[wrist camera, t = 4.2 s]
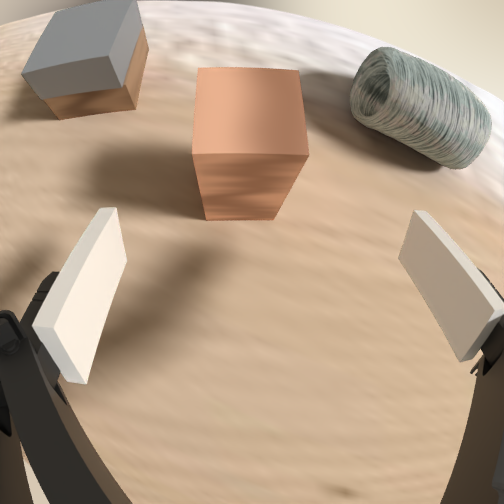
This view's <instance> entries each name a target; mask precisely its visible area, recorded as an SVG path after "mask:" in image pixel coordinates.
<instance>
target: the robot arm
mask: <svg viewBox="0 0 504 504" xmlns="http://www.w3.org/2000/svg"><path fill="white" fill-rule="evenodd" d="M398 259H399V260H400V262H401V263H402V265H403V266H404V268H405V269H406V271H407V273H408V274H409V276H410V277H411V279H412V280H413V282H414V284H415V285H416V287H417V288H418V290H419V292H420V293H421V295H422V297H423V298H424V300H425V302H426V303H427V305H428V307H429V308H430V310H431V312H432V313H433V315H434V317H435V319H436V320H437V322H438V324H439V326H440V327H441V329H442V331H443V333H444V335H445V336H446V338H447V340H448V342H449V344H450V346H451V347H452V349H453V351H454V353H455V355H456V357H457V359H458V361H459V362H463V361H467V360H470V359H473V358H474V356H475V355H476V354H477V352H478V351H479V350H480V348H481V350H482V352H483V355H482V357H481V358H480V359H479V361H478V362H477V363H476V364H475V366H474V367H473V368H472V370H471V372H470V373H471V374H472V373H473V372H474V371H475V370H476V369H478V372H477V373H476V374H475V376H477V378H476V384H475V389H474V394H473V399H472V404H471V408H470V413H469V417H468V421H467V425H466V429H465V433H464V436H463V440H462V443H461V447H460V450H459V453H458V456H457V460H456V463H455V466H454V469H453V472H452V474H451V477H450V480H449V483H448V485H447V488H446V490H445V493H444V496H443V498H442V500H441V503H440V504H504V299H503V297H502V296H501V295H500V293H499V292H498V291H497V289H495V287H494V286H493V284H492V283H490V280H489V279H488V278H487V277H486V275H485V274H484V273H483V272H482V271H481V270H479V269H478V268H477V267H476V266H475V265H474V264H473V263H472V261H471V260H470V259H469V258H468V257H467V255H466V254H465V253H464V252H463V251H462V250H461V248H460V247H459V246H458V245H457V244H456V243H455V242H454V240H453V239H452V238H451V237H450V236H449V235H448V234H447V233H446V232H445V230H444V229H443V228H442V227H441V226H440V225H439V224H438V223H437V222H436V221H435V220H434V219H433V218H432V217H431V215H430V214H429V213H428V212H427V211H419V210H413V214H412V217H411V220H410V224H409V227H408V230H407V233H406V236H405V239H404V242H403V245H402V248H401V251H400V254H399V257H398ZM126 262H127V258H126V253H125V249H124V244H123V239H122V234H121V229H120V224H119V219H118V213H117V208H116V207H109V208H100V209H99V210H98V212H97V213H96V215H95V216H94V218H93V219H92V221H91V222H90V224H89V225H88V227H87V228H86V230H85V231H84V233H83V235H82V236H81V238H80V239H79V241H78V243H77V244H76V246H75V247H74V249H73V251H72V252H71V254H70V256H69V257H68V259H67V261H66V262H65V264H64V266H63V268H62V269H61V271H60V272H52V273H50V274H49V275H48V276H47V277H46V278H45V279H44V280H43V281H42V283H41V285H40V286H39V288H38V290H37V293H35V295H34V297H33V299H32V301H31V302H30V304H29V306H28V308H27V310H26V312H25V313H24V315H23V317H22V319H21V321H20V323H19V321H18V320H17V318H16V316H15V314H14V313H13V312H11V311H9V310H2V311H0V504H34V503H33V500H32V496H31V492H30V488H29V484H28V481H27V476H26V472H25V467H24V462H23V456H22V451H21V445H20V441H21V444H22V446H23V449H24V451H25V453H26V456H27V458H28V460H29V463H30V465H31V467H32V469H33V471H34V474H35V476H36V478H37V480H38V482H39V484H40V486H41V488H42V490H43V492H44V494H45V495H46V497H47V499H48V501H49V503H50V504H132V502H131V501H130V500H129V498H128V497H127V496H126V494H125V493H124V492H123V490H122V489H121V488H120V486H119V485H118V483H117V482H116V481H115V479H114V478H113V476H112V475H111V473H110V472H109V470H108V469H107V467H106V466H105V464H104V463H103V461H102V460H101V458H100V457H99V455H98V454H97V452H96V450H95V449H94V447H93V445H92V444H91V442H90V440H89V439H88V437H87V435H86V434H85V432H84V430H83V428H82V427H81V425H80V423H79V421H78V419H77V417H76V416H75V414H74V412H73V410H72V408H71V406H70V404H69V402H68V400H67V398H66V396H65V394H64V392H63V390H62V388H61V386H60V385H59V383H58V382H57V380H58V377H59V374H60V372H61V374H62V375H63V377H64V378H65V379H66V381H67V382H73V383H80V384H87V381H88V377H89V373H90V370H91V366H92V363H93V359H94V356H95V353H96V349H97V346H98V343H99V339H100V336H101V333H102V330H103V327H104V324H105V321H106V318H107V315H108V312H109V309H110V306H111V303H112V300H113V297H114V294H115V292H116V289H117V286H118V283H119V281H120V278H121V275H122V273H123V270H124V267H125V265H126Z"/></svg>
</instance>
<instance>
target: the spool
mask: <svg viewBox="0 0 504 504" xmlns="http://www.w3.org/2000/svg"><path fill="white" fill-rule="evenodd" d="M350 106H351V112H352V114H353V116H354V118H355V119H356V120H357V121H359V122H360V123H361V124H363V125H364V126H366V127H368V128H370V129H375V130H377V131H379V132H381V133H383V134H384V135H387V136H389V137H392V138H393V139H395V140H397V141H399V142H401V143H403V144H405V145H407V146H409V147H411V148H413V149H414V150H416V151H417V152H419V153H421V154H423V155H425V156H427V157H429V158H430V159H432V160H434V161H436V162H437V163H439V164H441V165H443V166H445V167H448V168H450V169H463V168H466V167H467V166H468V165H470V164H471V163H472V162H473V161H474V160H475V159H476V158H477V157H478V156H479V154H480V153H481V151H482V150H483V148H484V147H485V145H486V143H487V142H488V140H489V137H490V134H491V125H492V122H491V116H490V114H489V112H488V110H487V108H486V107H485V105H484V104H483V102H482V101H481V100H480V99H479V98H478V97H477V96H476V95H475V94H474V93H473V92H472V91H471V90H470V89H469V88H468V87H466V86H465V85H463V84H462V83H461V82H459V81H458V80H456V79H455V78H454V77H452V76H451V75H450V74H448V73H447V72H445V71H443V70H441V69H439V68H437V67H436V66H434V65H432V64H429V63H427V62H425V61H424V60H421V59H419V58H416V57H413V56H411V55H409V54H407V53H404V52H401V51H399V50H397V49H395V48H391V47H380V48H378V49H376V50H374V51H372V52H371V53H370V54H369V55H368V56H367V58H366V59H365V60H364V62H363V63H362V64H361V66H360V68H359V70H358V72H357V74H356V76H355V78H354V82H353V85H352V88H351V93H350Z"/></svg>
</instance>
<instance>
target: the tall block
mask: <svg viewBox="0 0 504 504" xmlns="http://www.w3.org/2000/svg"><path fill="white" fill-rule="evenodd" d="M308 156H309V149H308V140H307V131H306V123H305V114H304V106H303V99H302V91H301V84H300V77H299V71H298V70H286V69H270V68H242V67H212V68H198V74H197V86H196V98H195V111H194V126H193V142H192V157H193V162H194V166H195V171H196V176H197V180H198V185H199V189H200V194H201V198H202V203H203V207H204V212H205V216H206V221H218V220H274V218H275V216H276V215H277V213H278V211H279V209H280V207H281V206H282V204H283V202H284V200H285V198H286V196H287V195H288V193H289V191H290V189H291V187H292V186H293V184H294V182H295V180H296V178H297V176H298V175H299V173H300V171H301V169H302V167H303V166H304V164H305V162H306V160H307V158H308Z"/></svg>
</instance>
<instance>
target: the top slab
mask: <svg viewBox="0 0 504 504" xmlns="http://www.w3.org/2000/svg"><path fill="white" fill-rule="evenodd" d="M142 26H143V25H142V21H141V17H140V13H139V8H138V4H137V0H103V1H98V2H93V3H89V4H84V5H80V6H76V7H72V8H68V9H64V10H61V11H57V12H55V14H54V15H53V17H52V19H51V20H50V22H49V23H48V25H47V27H46V28H45V30H44V32H43V33H42V35H41V37H40V39H39V40H38V42H37V44H36V46H35V48H34V50H33V51H32V53H31V55H30V57H29V59H28V61H27V63H26V65H25V67H24V69H23V71H22V73H21V75H22V76H23V77H24V79H25V80H26V81H27V83H28V84H29V85H30V86H31V88H32V89H33V90H34V92H35V93H36V94H37V95H38V97H39V98H40V99H41V100H43V99H48V98H53V97H59V96H64V95H70V94H77V93H83V92H91V91H98V90H107V89H116V88H122V87H123V83H124V80H125V76H126V73H127V70H128V67H129V64H130V60H131V57H132V54H133V51H134V49H135V46H136V43H137V40H138V37H139V34H140V32H141V29H142Z"/></svg>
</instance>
